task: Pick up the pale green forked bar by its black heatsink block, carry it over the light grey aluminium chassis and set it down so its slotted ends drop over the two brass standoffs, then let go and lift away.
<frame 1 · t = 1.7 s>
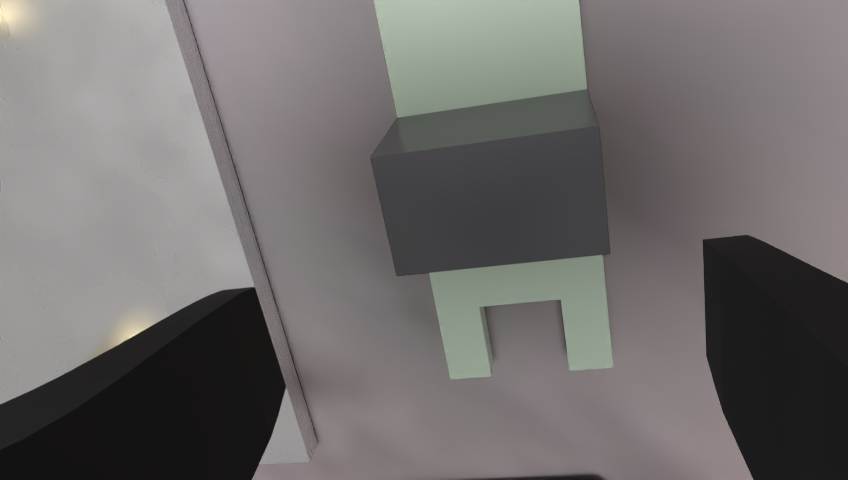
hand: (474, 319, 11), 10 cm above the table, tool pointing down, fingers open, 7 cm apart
chassis: (41, 210, 23), on the table
pale green forked bar: (499, 147, 20), on the table
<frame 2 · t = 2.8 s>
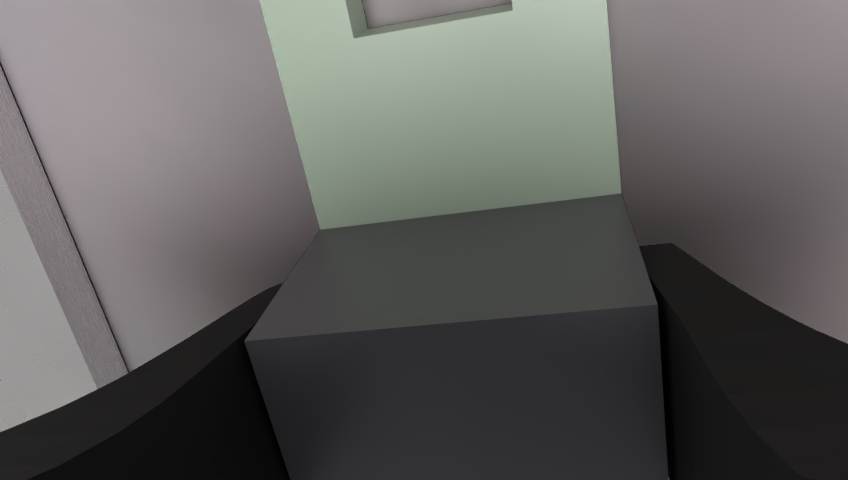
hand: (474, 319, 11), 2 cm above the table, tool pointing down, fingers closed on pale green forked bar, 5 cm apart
pale green forked bar: (481, 266, 13), on the table, touching gripper
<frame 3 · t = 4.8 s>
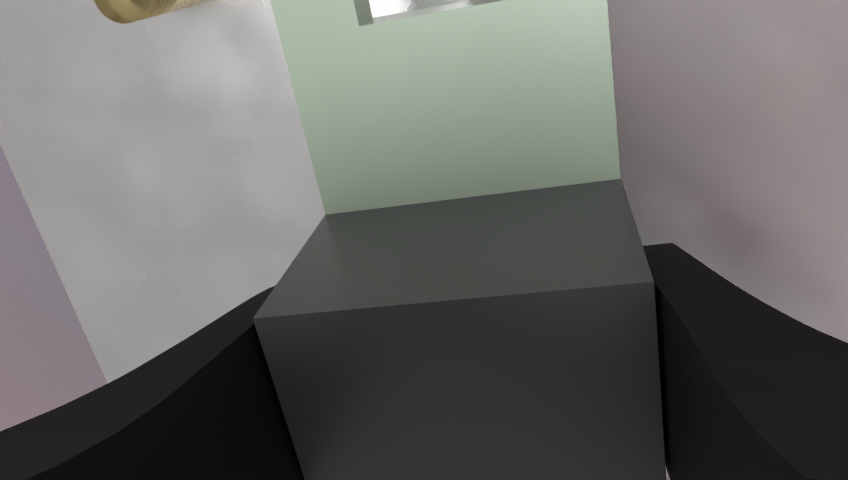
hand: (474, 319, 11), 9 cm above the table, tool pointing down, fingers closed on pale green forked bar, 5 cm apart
chassis: (264, 191, 21), on the table
pale green forked bar: (484, 252, 13), point 7 cm above the table, touching gripper
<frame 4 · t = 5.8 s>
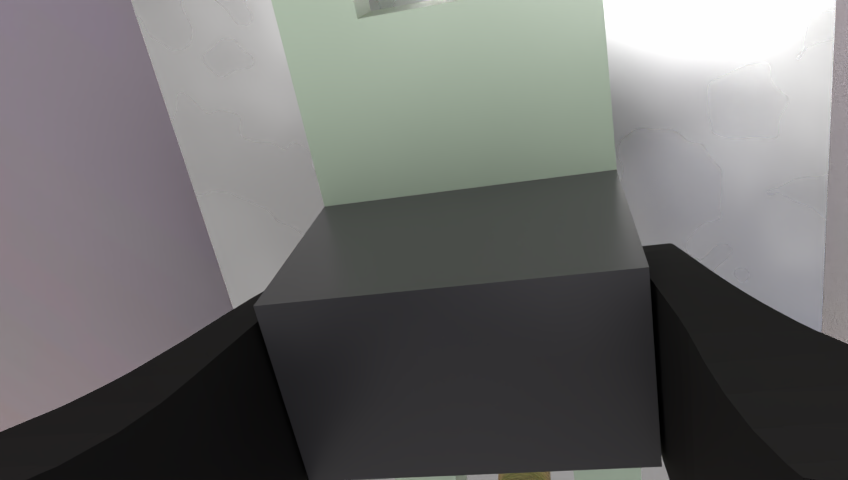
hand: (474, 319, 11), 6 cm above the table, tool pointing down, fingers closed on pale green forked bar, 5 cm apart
chassis: (493, 187, 17), on the table
pale green forked bar: (481, 243, 13), point 4 cm above the table, touching gripper
when the fingers open (4 cm above the table, at t = 6.7 s): pale green forked bar stays where it is, resting on chassis.
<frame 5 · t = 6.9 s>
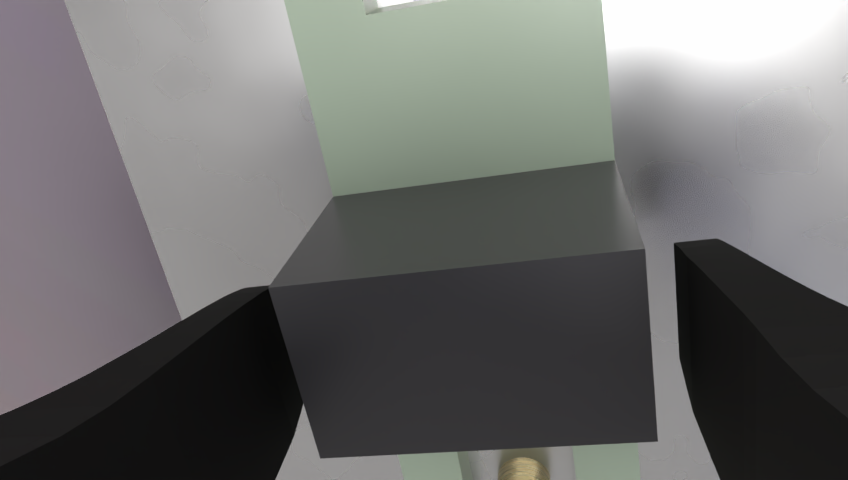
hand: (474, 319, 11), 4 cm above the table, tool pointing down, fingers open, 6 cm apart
chassis: (488, 223, 15), on the table
pale green forked bar: (484, 233, 14), point 1 cm above the table, touching chassis
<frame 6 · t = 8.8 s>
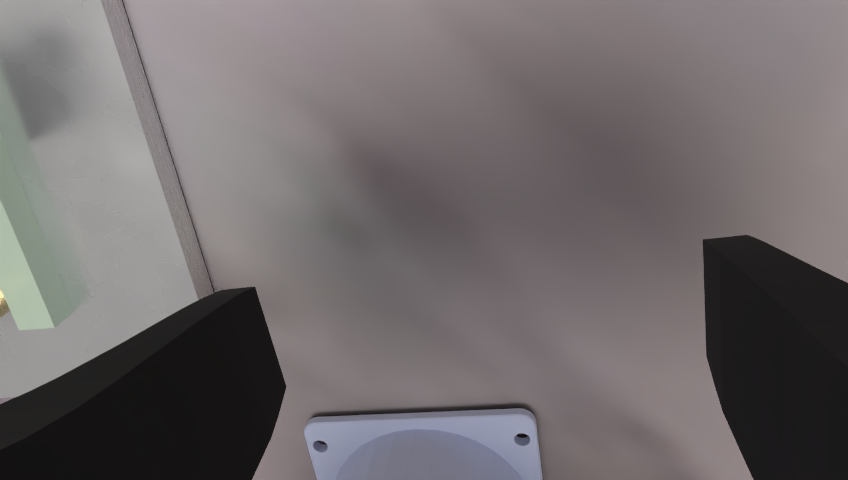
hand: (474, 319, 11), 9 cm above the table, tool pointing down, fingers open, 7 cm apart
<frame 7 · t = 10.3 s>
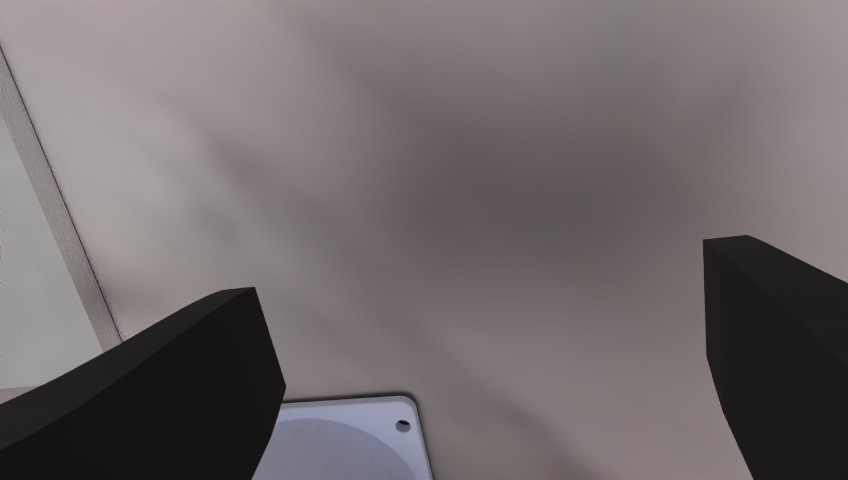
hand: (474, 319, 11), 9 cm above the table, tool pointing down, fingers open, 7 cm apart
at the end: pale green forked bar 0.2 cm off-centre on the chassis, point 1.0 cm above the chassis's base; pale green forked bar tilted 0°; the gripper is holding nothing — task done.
